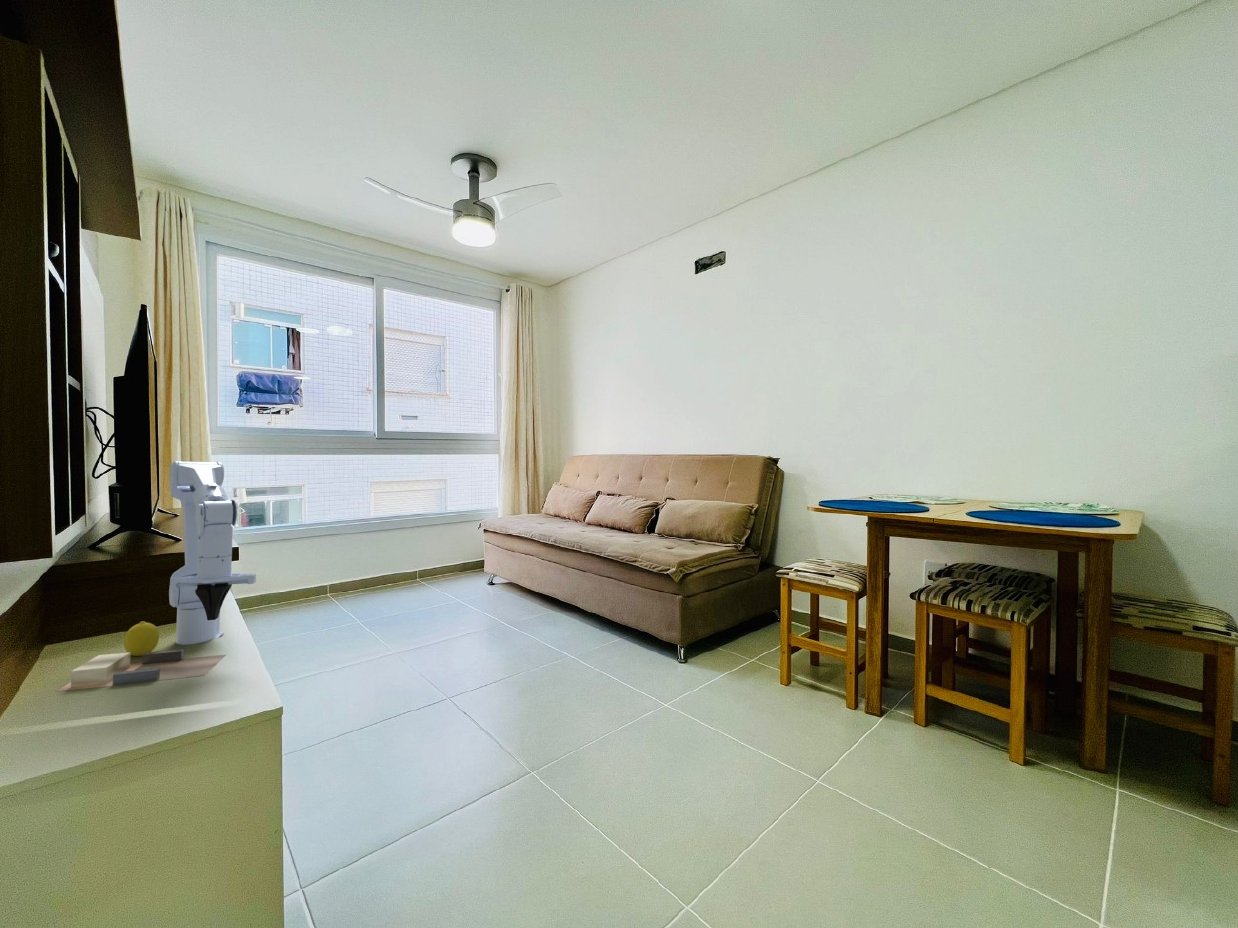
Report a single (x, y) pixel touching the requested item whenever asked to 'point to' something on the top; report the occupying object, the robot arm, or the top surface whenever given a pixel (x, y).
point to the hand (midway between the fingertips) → (212, 618)
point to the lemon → (141, 639)
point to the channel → (148, 674)
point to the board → (166, 670)
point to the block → (100, 669)
